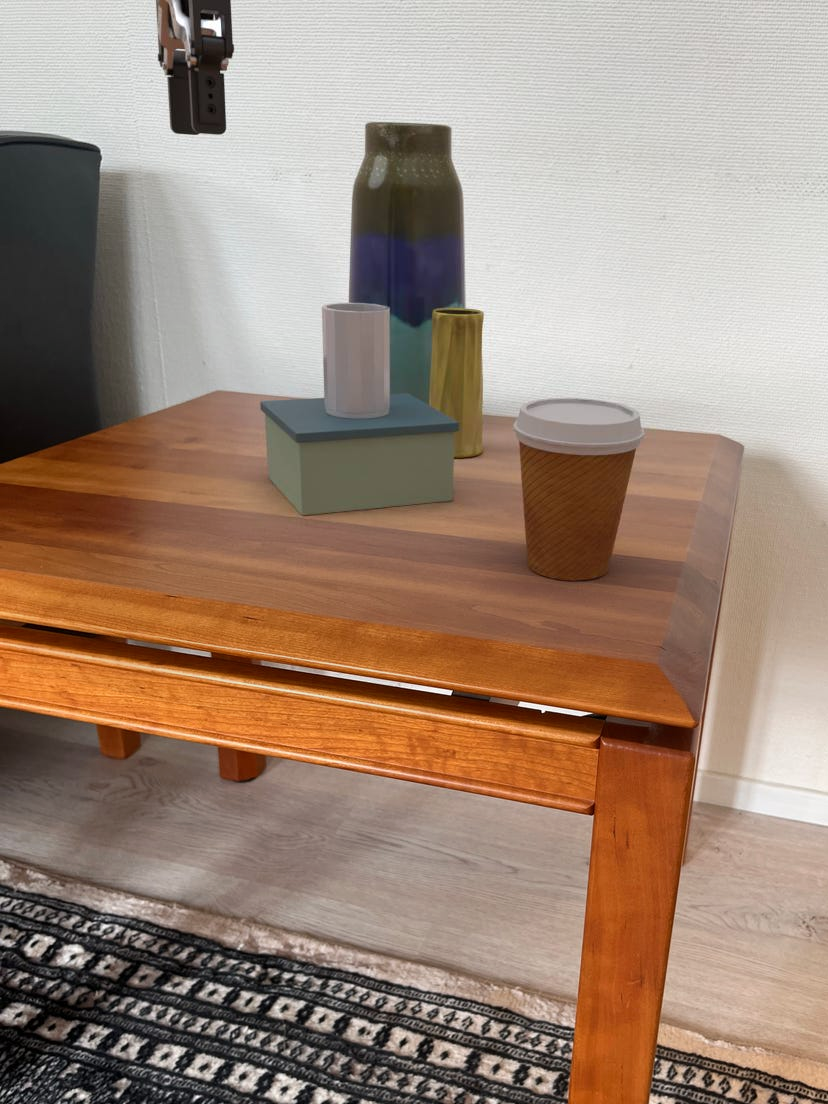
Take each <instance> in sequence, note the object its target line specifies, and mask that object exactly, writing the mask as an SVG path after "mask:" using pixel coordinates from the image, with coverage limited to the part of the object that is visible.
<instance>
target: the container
mask: <svg viewBox="0 0 828 1104" xmlns="http://www.w3.org/2000/svg"><path fill="white" fill-rule="evenodd" d="M259 402H260V403H259V405H260V411H261V412H262V413H264V426H265V444H266V462H267V463H266V465H267V478H268V479H269V480H270V482H272V484H273V485H274V486H275V487H276V488H277V489H278V491H279V492H281V494H282V495H283V496H284V497H285V498H286V499H287V500H288V501H289V503H290V504H291V505H292V506H293V507H294V508H295V510H297V512H298V513H299V514H300V515H301V516H302V517H303V516H312V515H321V514H322V515H324V514H332V513H342V512H352V511H361V510H372V509H382V508H392V507H402V506H403V507H404V506H410V505H412V506H413V505H422V504H431V503H432V504H433V503H442V502H452V501H453V498H454V465H455V464H454V463H455V462H454V461H455V458H454V432H455V431H459V422H457V421H455V420H454V419H452V418H450V417H449V416H447V415H445V414H443V413H442V412H440V411H438V410H436V409H435V408H433V407H431V406H429V405H428V404H426V403H424V402H422V401H421V400H419V399H417V398H415V397H414V396H412V395H410V394H408V393H404V394H390V413H389V414H388V415H385V416H382V417H377V418H369V419H350V418H341V417H335V416H332V415H329V414H327V413H326V412H325V405H324V397H313V398H295V399H280V400H278V399H277V400H261V401H259Z"/></svg>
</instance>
